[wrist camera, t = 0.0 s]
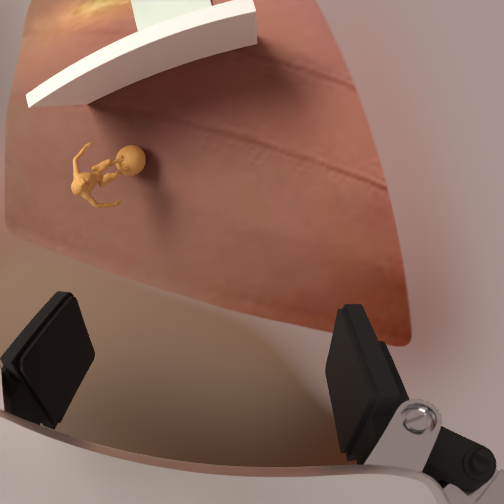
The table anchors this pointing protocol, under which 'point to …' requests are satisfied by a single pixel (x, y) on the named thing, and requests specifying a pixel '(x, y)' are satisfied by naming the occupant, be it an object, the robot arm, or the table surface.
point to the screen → (151, 53)
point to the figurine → (126, 162)
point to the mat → (163, 10)
